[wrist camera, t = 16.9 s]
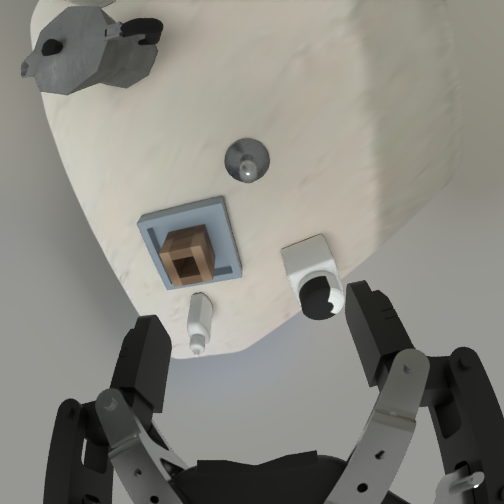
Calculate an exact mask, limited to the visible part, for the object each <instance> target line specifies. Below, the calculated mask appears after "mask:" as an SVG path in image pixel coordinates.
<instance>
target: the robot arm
mask: <svg viewBox="0 0 504 504" xmlns="http://www.w3.org/2000/svg"><path fill="white" fill-rule="evenodd" d="M65 1H68V2H71V3H74V4H77V5H80V6H99V7H100V8H101V7H104V6H107V5H109V4H111V3H112V2H114V1H115V0H65ZM345 314H346V320H347V324H348V326H349V329H350V332H351V334H352V337H353V340H354V343H355V345H356V348H357V351H358V354H359V357H360V360H361V363H362V366H363V369H364V372H365V375H366V378H367V381H368V384H369V387H373V386H376V385H378V388H379V391H380V393H379V396H378V398H377V400H376V403H375V405H374V407H373V409H372V412H371V414H370V416H369V418H368V421H367V423H366V425H365V427H364V429H363V431H362V433H361V435H360V437H359V439H358V440H357V442H356V444H355V446H354V448H353V450H352V452H351V453H350V455H349V457H348V459H347V461H344V460H342V459H339V458H336V457H332V456H327V455H317V451H316V450H315V451H310V452H304V453H298V454H291V455H286V456H283V457H280V458H277V459H274V460H272V461H269V462H266V463H263V464H259V465H249V464H242V463H237V462H232V461H227V460H198V461H197V466H194V467H191V468H189V467H188V466H187V465H186V463H185V462H184V461H183V460H182V459H181V458H180V457H179V456H178V455H176V454H175V452H174V451H173V450H172V448H171V447H170V445H169V444H168V442H167V441H166V439H165V438H164V436H163V435H162V434H161V432H160V430H159V429H158V427H157V425H156V424H155V422H154V421H153V420H152V415H153V413H162V409H163V402H164V395H165V388H166V381H167V375H168V367H169V362H170V356H171V350H172V344H171V339H170V336H169V335H168V333H167V331H166V330H165V328H164V326H163V325H162V323H161V321H160V320H159V318H158V317H157V315H147V316H139V317H138V319H137V322H136V325H135V328H134V329H130V331H129V332H128V333H127V335H126V336H125V338H124V340H123V343H122V346H121V350H120V353H119V358H118V360H117V363H116V367H115V370H114V374H113V377H112V381H111V385H110V388H109V389H106V390H104V391H102V392H101V393H100V394H99V396H98V397H97V399H96V401H92V402H89V403H85V404H80V403H79V402H78V401H76V400H75V399H67V400H65V401H64V402H62V403H61V405H60V406H59V409H58V412H57V416H56V420H55V425H54V429H53V434H52V439H51V444H50V450H49V456H48V463H47V470H46V477H45V487H44V498H43V504H112V486H113V470H114V469H115V470H116V472H117V474H118V476H119V478H120V480H121V482H122V484H123V485H124V487H125V489H126V491H127V492H128V494H129V496H130V497H131V499H132V501H133V502H134V504H410V503H408V502H407V501H405V500H403V499H402V498H400V497H399V496H397V495H395V494H394V493H392V492H391V491H389V490H388V489H389V488H390V486H391V483H392V482H393V480H394V478H395V476H396V474H397V471H398V469H399V467H400V465H401V463H402V460H403V458H404V456H405V453H406V451H407V448H408V446H409V443H410V441H411V439H412V436H413V433H414V430H415V427H416V421H415V417H416V414H417V411H418V408H419V407H426V406H428V408H429V411H430V414H431V418H432V421H433V425H434V428H435V432H436V436H437V440H438V444H439V448H440V452H441V456H442V461H443V466H444V470H445V476H444V477H443V478H442V479H441V480H440V482H439V483H438V485H437V488H436V498H435V502H434V504H504V418H503V415H502V411H501V409H500V406H499V403H498V401H497V398H496V395H495V393H494V390H493V388H492V386H491V383H490V381H489V378H488V376H487V374H486V371H485V369H484V367H483V365H482V363H481V361H480V359H479V357H478V355H477V353H476V352H475V351H474V350H472V349H470V348H467V347H459V348H457V349H455V350H454V351H453V352H452V354H451V355H450V356H442V357H430V356H426V355H425V354H424V353H423V352H421V351H419V350H416V349H415V347H414V346H413V344H412V343H411V340H410V338H409V336H408V334H407V332H406V330H405V328H404V326H403V324H402V322H401V321H400V319H399V317H398V315H397V313H396V311H395V309H393V306H392V304H391V302H390V300H389V298H388V297H387V296H386V295H384V294H383V293H382V292H380V290H376V291H373V292H372V291H371V289H370V287H369V285H368V283H367V282H366V281H365V280H363V281H358V282H354V283H349V284H347V288H346V304H345ZM84 439H86V440H87V443H86V451H85V458H84V465H83V464H82V461H81V456H82V449H83V442H84ZM113 468H114V469H113Z"/></svg>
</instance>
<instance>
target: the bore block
mask: <svg viewBox="0 0 504 504" xmlns="http://www.w3.org/2000/svg"><path fill="white" fill-rule="evenodd" d="M159 255H160V257H161V259H162V262H163V264H164V266H165V268H166V270H167V273H168V275H169V277H170V279H171V281H172V283H173V285H174V287H178V286H184V285H189V284H195V283H201V282H207V281H212V280H213V276H214V267H215V258H216V256H215V253H214V250H213V247H212V244H211V241H210V238H209V235H208V232H207V228H206V225H205V224H202V225H198V226H193V227H189V228H184V229H180V230H175V231H171V232H168V234H167V236H166V239H165V241H164V243H163V246H162V248H161V250H160V253H159Z"/></svg>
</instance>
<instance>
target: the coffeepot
mask: <svg viewBox="0 0 504 504" xmlns="http://www.w3.org/2000/svg"><path fill="white" fill-rule="evenodd" d="M162 30H163V24H162V22H161V21H160V20H158V19H154V18H137V19H133V20H130V21H128V22H126V23H124V24H123V23H121V22H118V23H116V22H115V21H114V20H113V19H112V18H110V17H109V16H108V15H107V14H106V13H105V12H104V11H103V10H102V9H101V8H100V7H99V6H74V7H68V8H66V9H65V10H64V11H63V12H62V13H60V14H59V15H58V16H57V17H56V18H55V19H53V20H52V21H51V22H50V23H49V24H48V25H47V26H46V27H45V28H44V29H43V30H42V31H41V32H40V35H39V37H38V40H37V43H36V46H35V49H34V51H33V52H32V53H31V54H30V55H29V56H28V57H27V58H26V59H25V61H24V62H23V63H22V65H21V76H22V77H23V78H24V77H35V80H36V83H37V85H38V87H39V90H40V92H47V93H55V94H62V95H69V94H71V93H74V92H76V91H79V90H81V89H84V88H87V87H89V86H92V85H95V84H98V83H103V84H106V85H111V86H117V87H122V88H128V87H129V86H131V85H133V84H134V83H136V82H138V81H139V80H141V79H142V78H144V77H146V76H147V75H149V72H150V69H151V67H152V65H153V63H154V60H155V56H156V54H157V52H158V51H157V49H156V47H155V44H156V43H158V41H159V39H160V36H161V32H162Z"/></svg>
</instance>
